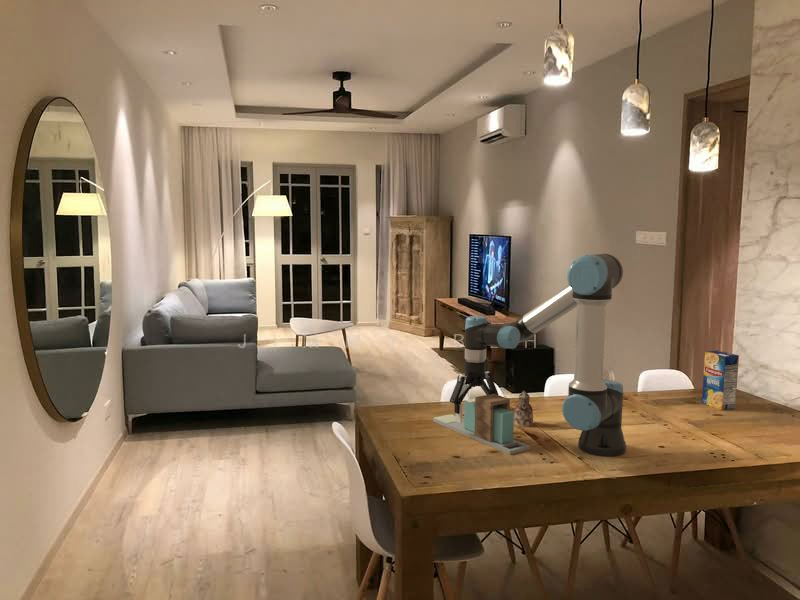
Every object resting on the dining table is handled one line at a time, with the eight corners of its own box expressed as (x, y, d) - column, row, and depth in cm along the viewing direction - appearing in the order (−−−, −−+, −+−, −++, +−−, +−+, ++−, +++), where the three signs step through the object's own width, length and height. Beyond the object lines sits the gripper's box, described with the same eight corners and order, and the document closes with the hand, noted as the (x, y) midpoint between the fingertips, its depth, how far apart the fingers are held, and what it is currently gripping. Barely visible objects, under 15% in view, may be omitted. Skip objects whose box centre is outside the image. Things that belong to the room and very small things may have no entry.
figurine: (512, 425, 245) (513, 393, 243) (514, 419, 251) (515, 389, 250) (531, 427, 243) (532, 395, 241) (533, 421, 249) (535, 390, 248)
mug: (494, 411, 263) (494, 391, 262) (468, 410, 263) (469, 391, 262) (490, 402, 275) (491, 384, 274) (466, 402, 275) (466, 383, 274)
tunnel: (508, 437, 227) (509, 398, 225) (489, 442, 222) (490, 402, 221) (493, 431, 234) (494, 393, 232) (474, 435, 229) (475, 397, 227)
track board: (529, 449, 219) (530, 445, 219) (509, 454, 214) (509, 450, 214) (451, 417, 254) (451, 414, 254) (432, 421, 249) (432, 417, 249)
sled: (513, 441, 223) (513, 411, 221) (501, 443, 220) (502, 413, 219) (474, 425, 239) (475, 397, 238) (463, 427, 237) (464, 399, 235)
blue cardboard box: (722, 410, 266) (725, 356, 264) (701, 403, 277) (704, 351, 274) (735, 408, 269) (739, 355, 266) (714, 401, 279) (718, 350, 276)
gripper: (495, 354, 243) (493, 411, 245) (440, 362, 229) (439, 421, 232) (509, 358, 237) (507, 416, 239) (453, 366, 223) (452, 427, 226)
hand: (474, 419), depth 235 cm, fingers open, 13 cm apart
